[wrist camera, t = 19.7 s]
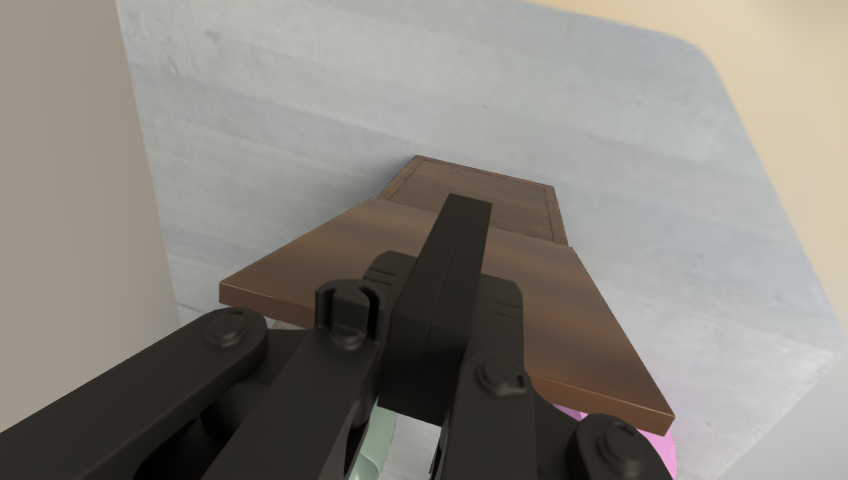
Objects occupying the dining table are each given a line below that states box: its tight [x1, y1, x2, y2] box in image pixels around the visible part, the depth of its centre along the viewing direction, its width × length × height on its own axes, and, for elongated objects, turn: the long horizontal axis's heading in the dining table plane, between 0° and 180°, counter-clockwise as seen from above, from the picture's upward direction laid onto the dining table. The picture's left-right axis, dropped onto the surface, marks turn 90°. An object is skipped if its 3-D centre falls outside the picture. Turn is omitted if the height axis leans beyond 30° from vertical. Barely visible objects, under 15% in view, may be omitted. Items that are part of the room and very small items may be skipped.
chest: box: [376, 155, 568, 246], centre depth 34 cm, size 14×14×13 cm
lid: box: [219, 197, 675, 437], centre depth 18 cm, size 15×14×1 cm
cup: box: [349, 397, 396, 480], centre depth 53 cm, size 8×8×10 cm
